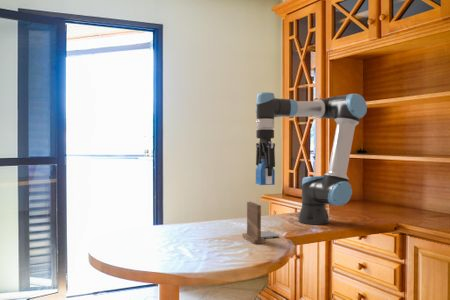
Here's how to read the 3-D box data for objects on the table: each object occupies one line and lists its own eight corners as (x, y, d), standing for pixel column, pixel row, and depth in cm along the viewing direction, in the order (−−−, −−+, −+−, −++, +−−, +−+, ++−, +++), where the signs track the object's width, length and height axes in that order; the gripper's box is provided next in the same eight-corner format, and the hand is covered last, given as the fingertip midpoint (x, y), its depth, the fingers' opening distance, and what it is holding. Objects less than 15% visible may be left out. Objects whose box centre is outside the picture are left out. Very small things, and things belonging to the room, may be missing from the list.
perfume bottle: (260, 185, 165) (260, 156, 165) (255, 183, 171) (255, 155, 170) (274, 184, 166) (274, 156, 166) (269, 183, 172) (269, 155, 172)
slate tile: (269, 232, 175) (269, 230, 175) (278, 237, 166) (279, 235, 166) (250, 234, 172) (250, 232, 172) (259, 239, 163) (259, 237, 163)
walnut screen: (253, 236, 168) (253, 201, 168) (265, 243, 157) (265, 205, 156) (242, 237, 166) (242, 201, 166) (253, 244, 155) (254, 206, 155)
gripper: (248, 129, 176) (248, 181, 176) (267, 128, 158) (267, 185, 158) (263, 129, 179) (263, 180, 179) (283, 128, 160) (283, 185, 161)
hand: (265, 183), depth 169 cm, fingers closed on perfume bottle, 6 cm apart
